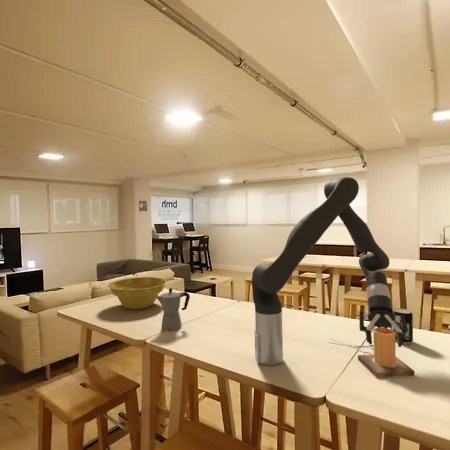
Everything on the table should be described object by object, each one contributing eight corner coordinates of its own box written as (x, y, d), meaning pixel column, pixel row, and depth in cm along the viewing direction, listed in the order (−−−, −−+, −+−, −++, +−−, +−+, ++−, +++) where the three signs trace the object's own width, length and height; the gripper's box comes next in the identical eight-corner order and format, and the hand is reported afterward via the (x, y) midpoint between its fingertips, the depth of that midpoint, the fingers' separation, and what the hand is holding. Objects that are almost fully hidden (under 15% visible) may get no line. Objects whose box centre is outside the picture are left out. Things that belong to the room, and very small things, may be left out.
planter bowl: (178, 305, 180) (178, 281, 179) (125, 319, 158) (124, 292, 157) (149, 295, 203) (148, 274, 203) (99, 306, 181) (98, 283, 180)
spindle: (376, 377, 97) (376, 350, 96) (357, 359, 109) (357, 335, 108) (414, 375, 97) (414, 348, 97) (392, 357, 109) (391, 333, 109)
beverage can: (413, 346, 118) (413, 314, 118) (392, 343, 122) (392, 312, 121) (412, 339, 124) (412, 309, 124) (393, 336, 127) (393, 307, 127)
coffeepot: (158, 333, 137) (157, 292, 137) (155, 326, 146) (154, 287, 146) (193, 328, 143) (191, 288, 142) (188, 321, 152) (187, 284, 151)
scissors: (377, 357, 109) (320, 343, 122) (377, 359, 109) (320, 345, 122) (384, 346, 118) (330, 334, 130) (384, 348, 118) (330, 336, 130)
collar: (375, 364, 101) (375, 333, 101) (372, 356, 107) (372, 327, 106) (396, 367, 99) (396, 335, 99) (392, 358, 105) (392, 328, 105)
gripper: (357, 293, 111) (362, 337, 101) (403, 295, 107) (412, 341, 97) (356, 303, 117) (360, 347, 106) (399, 306, 112) (408, 351, 102)
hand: (385, 344), depth 101 cm, fingers open, 8 cm apart
